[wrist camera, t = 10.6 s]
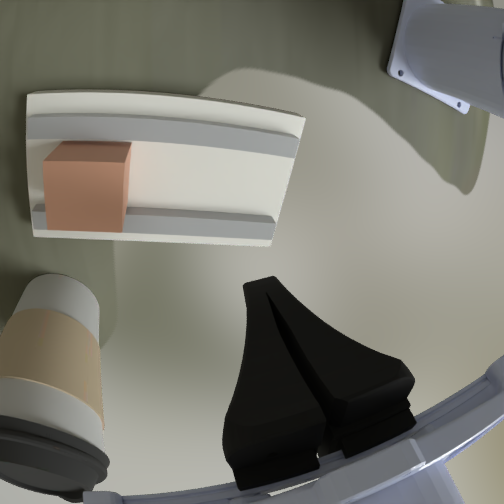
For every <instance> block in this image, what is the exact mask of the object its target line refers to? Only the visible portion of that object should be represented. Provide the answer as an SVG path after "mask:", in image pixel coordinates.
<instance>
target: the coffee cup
mask: <svg viewBox="0 0 504 504" xmlns="http://www.w3.org/2000/svg"><path fill="white" fill-rule="evenodd" d="M103 430H104V416H103V403H102V387H101V363H100V348H99V305H98V302H97V300H96V298H95V296H94V295H93V293H92V292H91V291H90V290H89V289H88V288H87V287H86V286H85V285H84V284H82V283H81V282H79V281H77V280H75V279H73V278H71V277H68V276H65V275H61V274H45V275H41V276H38V277H36V278H34V279H33V280H32V281H30V282H29V284H28V285H27V286H26V288H25V290H24V292H23V294H22V296H21V298H20V300H19V302H18V304H17V306H16V308H15V310H14V312H13V314H12V316H11V317H10V318H9V320H8V321H7V323H6V325H5V327H4V330H3V332H2V334H1V336H0V479H2V480H4V481H6V482H8V483H11V484H13V485H16V486H18V487H21V488H24V489H27V490H31V491H34V492H39V493H43V494H48V495H54V496H59V497H60V498H63V499H64V500H66V501H69V502H72V503H80V502H83V492H84V491H92V490H93V488H94V486H95V484H98V483H100V482H102V481H104V480H105V479H106V477H107V468H108V466H109V463H110V461H109V458H108V456H107V455H106V454H105V448H104V440H103Z"/></svg>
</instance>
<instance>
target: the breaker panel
mask: <svg viewBox="0 0 504 504" xmlns="http://www.w3.org/2000/svg"><path fill="white" fill-rule="evenodd" d="M305 120H306V118H305V117H303V116H301V115H299V114H297V113H293V112H289V111H284V110H279V109H274V108H269V107H264V106H259V105H253V104H247V103H242V102H235V101H229V100H222V99H215V98H207V97H200V96H191V95H182V94H172V93H161V92H147V91H130V90H95V89H80V90H46V91H35V92H33V93H30V94H27V111H26V158H27V178H28V191H29V202H30V212H31V220H32V228H33V235H34V237H52V238H78V239H103V240H129V241H151V242H174V243H197V244H219V245H241V246H262V247H270V246H271V242H272V239H273V236H274V232H275V228H276V225H277V221H278V218H279V214H280V211H281V207H282V204H283V200H284V196H285V193H286V189H287V186H288V182H289V179H290V175H291V171H292V168H293V164H294V160H295V157H296V153H297V149H298V146H299V142H300V138H301V135H302V131H303V127H304V124H305ZM62 141H108V142H132V146H131V158H130V171H129V187H128V203H127V209H126V214H125V219H124V225H123V230H122V233H112V232H87V231H60V230H47V221H46V210H45V198H44V183H43V160H44V159H45V158H46V157H47V156H48V155H49V154H50V153H51V152H52V151H53V150H54V149H55V148H56V147H57V146H58V145H59V144H60V143H61V142H62Z"/></svg>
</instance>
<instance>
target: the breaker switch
mask: <svg viewBox="0 0 504 504" xmlns="http://www.w3.org/2000/svg"><path fill="white" fill-rule="evenodd" d="M131 146H132V142H108V141H62V142H61V143H60V144H59V145H58V146H57V147H56V148H55V149H54V150H53V151H52V152H51V153H50V154H49V155H48V156H47V157H46V158H45V159H44V160H43V183H44V198H45V210H46V221H47V230H60V231H87V232H112V233H122V230H123V225H124V219H125V214H126V209H127V203H128V187H129V171H130V158H131Z"/></svg>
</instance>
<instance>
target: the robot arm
mask: <svg viewBox="0 0 504 504" xmlns="http://www.w3.org/2000/svg"><path fill="white" fill-rule="evenodd" d="M399 70H400V75H398V71H399ZM387 73H388V74H389V75H390V76H391V77H394V78H396V79H398V80H400V81H402V82H404V83H406V84H409V85H411V86H413V87H415V88H417V89H419V90H421V91H423V92H425V93H427V94H428V95H430V96H432V97H434V98H436V99H438V100H440V101H442V102H443V103H445V104H447V105H449V106H450V107H452V108H454V109H456V110H457V111H459V112H461V113H463V114H466V113H467V112H468V110H469V107H470V105H472V106H475V107H477V108H480V109H482V110H485V111H487V112H490V113H492V114H494V115H497V116H500V117H501V118H504V9H502V8H494V7H485V6H475V5H461V4H445V3H444V2H442V1H441V0H404V1H403V5H402V10H401V14H400V18H399V23H398V27H397V31H396V35H395V39H394V43H393V47H392V51H391V55H390V59H389V62H388V66H387ZM457 103H458V105H457ZM243 290H244V296H245V302H246V307H247V326H246V339H245V347H244V354H243V360H242V364H241V369H240V373H239V377H238V381H237V384H236V387H235V391H234V394H233V397H232V400H231V403H230V405H229V408H228V411H227V413H226V416H225V422H224V429H223V438H222V445H223V451H224V455H225V458H226V461H227V462H228V464H229V465H230V467H231V468H232V470H233V473H234V477H235V482H230V483H226V484H221V485H215V486H210V487H204V488H198V489H191V490H184V491H176V492H168V493H160V494H147V495H133V496H121V495H119V494H118V493H115V492H110V491H84V492H83V504H465V502H464V501H463V499H462V497H461V495H460V493H459V491H458V489H457V487H456V485H455V483H454V481H453V480H452V477H451V475H450V474H449V472H448V470H447V468H446V466H445V464H444V463H446V462H447V461H449V460H450V459H451V458H453V457H455V456H456V455H457V454H459V453H461V451H463V450H465V449H466V448H468V447H469V446H470V445H472V444H473V443H474V442H476V441H477V440H478V439H480V438H481V437H482V436H484V435H485V434H486V433H488V432H489V431H490V430H491V429H493V428H494V427H495V426H496V425H498V424H499V423H500V422H501V421H502V420H504V355H503V356H502V357H500V358H499V359H497V360H496V361H495V362H494V363H492V364H491V365H490V367H489V368H488V369H487V371H486V372H485V374H484V375H482V376H481V377H480V378H478V379H477V380H475V381H474V382H472V383H471V384H469V385H468V386H466V387H464V388H463V389H461V390H460V391H458V392H456V393H455V394H453V395H452V396H450V397H448V398H447V399H445V400H443V401H441V402H440V403H438V404H436V405H435V406H433V407H431V408H429V409H427V410H426V411H424V412H422V413H420V414H419V415H416V416H413V414H412V413H411V411H410V409H409V407H410V406H411V405H410V403H409V401H408V399H407V397H408V395H409V393H410V392H411V390H412V388H413V386H414V383H415V378H414V377H413V375H412V373H411V372H410V370H409V369H408V368H407V367H406V365H405V364H404V363H403V362H402V361H401V360H400V359H397V358H394V357H391V356H388V355H385V354H382V353H380V352H377V351H375V350H373V349H370V348H368V347H366V346H364V345H362V344H360V343H358V342H356V341H354V340H352V339H350V338H349V337H347V336H345V335H343V334H342V333H340V332H339V331H337V330H336V329H334V328H332V327H331V326H330V325H328V324H327V323H325V322H324V321H323V320H321V319H320V318H319V317H317V316H316V315H315V314H314V313H312V312H311V311H310V310H309V309H308V308H306V307H305V306H304V305H303V304H302V303H301V302H300V301H298V300H297V299H296V298H295V297H294V296H293V295H292V294H291V293H290V292H289V291H288V290H287V289H286V288H285V287H284V286H283V285H282V284H281V282H280V281H279V280H278V279H277V278H276V277H275V276H271V277H267V278H263V279H259V280H255V281H251V282H247V283H245V284H244V285H243ZM317 453H318V456H319V458H317ZM316 478H319V479H318V480H316V481H313V482H310V483H308V484H305V485H303V486H300V487H298V488H294V489H292V490H289V491H286V492H283V493H280V494H277V495H274V496H270V494H267V493H270V492H274V491H278V490H281V489H285V488H288V487H292V486H295V485H298V484H301V483H304V482H307V481H311V480H314V479H316Z"/></svg>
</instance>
